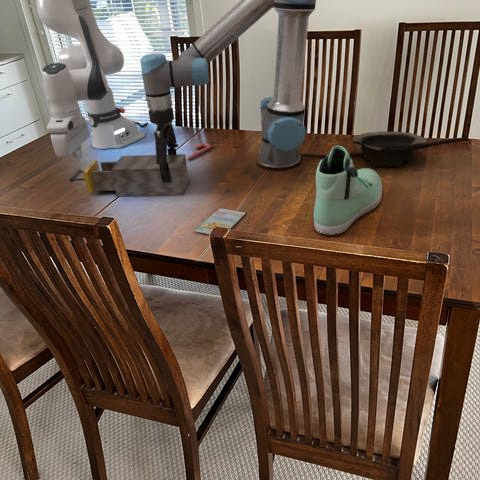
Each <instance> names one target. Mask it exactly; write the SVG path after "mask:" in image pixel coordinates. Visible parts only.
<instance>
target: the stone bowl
mask: <svg viewBox="0 0 480 480" xmlns="http://www.w3.org/2000/svg"><path fill="white" fill-rule="evenodd" d="M351 143H353V144H355V145H358V146H360V149H361V153H363V154H364V155H363V156H364V157H365V158H366V159H367V160H370V161H371V166H373V167H376V168H377V167H380V168H389V167H397V166H400V165H402V162H403V161H404V162H408V161H409V162H410V161H412V160H413V157H414V153H415V148H414V147H417V146H420V145H422V144H425V143H429V140H428V139H427V138H425V137H423V136H421V135H418V134H415V133H412V132H404V131H376V132H375V131H374V132H373V131H372V132H364V133H362V134H356V135H355V136H353V137H352V141H351Z"/></svg>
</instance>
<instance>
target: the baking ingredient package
mask: <svg viewBox="0 0 480 480" xmlns="http://www.w3.org/2000/svg"><path fill="white" fill-rule="evenodd" d="M245 214H246V212H245V211H239V210H233V209H227V208H220V207H219V208H218V209H217V210H215V211H214V212H213V214H212V215H210V216H209V217H208V218H207V219H206V220H205V221H204V222H203V223H202V224H201V225H200V226H198V227H197V228H196V229H195V230H194V232H197V233H200V234H201V233H202V234H206V235H211V234H210V232H211V230H212V229H213V228H214V227H226V228H230V229H232V228H233V226H235V224H237V223H238V222H239V221H240V219H242V217H244V216H245Z"/></svg>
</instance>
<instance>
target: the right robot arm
mask: <svg viewBox="0 0 480 480" xmlns="http://www.w3.org/2000/svg"><path fill="white" fill-rule="evenodd" d="M316 4H317V0H240V1H238V2H237V4H235V6H233V7H232V8H231V9H230V10H229V11H228V12H226V13H225V15H223V16H222V17H221V18H220V19H219V20H218V21H217V22H215V23H214V24H213V25H212V26H211V27H210V28H209V29H208V30H207V31H206V32H205V33H203V34H202V35H201V36H200V37H199V38H198V39H197V40H196V41H195V42H193V44H191V45H190V46H189V47H188V48H187V49H184V50H183V51H182V52H181V53H179V56H178V58H177V59H175V60H167V57H166V55H165V54H164V53H148V54H144V55H143V56H142V57H141V58H140V60H139V61H140V69H141V70H140V71H141V77H142V82H143V88H144V94H145V98H144V101H145V102H146V106H147V108H148V112H147V113H148V118H149V122H150V123H151V124H153V125H156V128H155V131H154V132H153V135H154V140H155V141H154V143H155V144H154V145H155V155H156V161H157V162H156V164H159V166H160V172H161V178H162V183H166V182H171V178H170V172H169V165H168V162H167V155H173V154H178V153H177V148H179V144H178V141H177V137H176V134H175V129H174V126H173V121H174V120H175V114H174V108H173V98H172V92H171V88H182V87H183V88H184V87H199V86H204V85H208V84H209V81H210V76H209V75H210V74H209V64H210V63H211V62H212V61H214V60H215V59H216V58H217V57H218V56H219V55H220V54H221V53H222V52H224V51H225V50H226V49H227V48H228V47H229V46H230V45H232V44H233V43H234V42H235V41H236V40H237V39H238V38H240V37H241V36H242V35H243V34H244V33H245V32H246V31H248V30H249V29H250V28H251V27H252V26H253V25H254V24H256V23H257V22H259V20H260V19H261V18H263V17H264V16H265V15H266V14H267V13H268V12H269V11H270V10H271V9H274V10H275V12H276V13H277V16H278V17H277V31H276V32H277V33H276V46H275V47H276V48H275V59H274V61H275V63H274V77H273V91H272V92H273V93H272V96H269V97H264V98H263V99H261V100H260V107H259V109H260V123H261V124H260V125H261V145H260V148H259V150H258V156H257V163H258V165H259V166H260V167H261V168H263V169H267V170H272V171H282V170H288V169H293V168H295V167H297V166H299V165H300V164H301V161H302V158H325V157H326V156H327V155H329V154H330V153H329V154H314V153H312V154H311V153H310V154H309V153H300V150H299V147H301V145H302V144H304V141H305V139H306V136H307V135H306V133H307V132H306V127H305V126H306V125H305V124H304V122H305V112H306V111H305V110H306V105H305V104H304V103H303V102H302V92H303V91H302V90H303V80H304V70H305V61H306V51H307V40H308V39H307V38H308V30H309V18H310V15H311V14H312V13H313V12H315V10H316ZM468 139H469V137H468V136H463V137H462V136H461V137H452V138H447V139H446V138H445V139H441V140H436V141H430V142H426V143H424V144H422V145H420V146H417V147H414V149H418V148H423V147H428V146H432V145H439V144H444V143H450V142H457V141H465V140H467V141H468ZM348 153H349V156H350V157H360V156H361V157H362V156H365V155H364V154H363V153H362V152H351V153H350V152H348Z"/></svg>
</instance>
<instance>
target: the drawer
mask: <svg viewBox="0 0 480 480" xmlns="http://www.w3.org/2000/svg"><path fill="white" fill-rule="evenodd" d="M116 163H117V161H101V162H100V163H99V161H98V160H96V159H95V160H93V161H92V162H90V164H89V165H88V167H87V168H86V169H85V170H82V169H80V168H78V169H77V170H76V171H75V172H74V173H73V174H72V175H71V177H69V178H68V181H69V182H70V183H74V182H79V181H81V182H82V181H84V182H85V185H86V189H87V193H88V194H93V192H94V191H95V190H96V191H97V192H104V191H105V192H106V191H109V192H110V191H116V190H115V185H114V181H113V176H112V172H111V169H112V168H113V167H114V165H115V164H116ZM99 165H100V166H99ZM100 168H101V169H100ZM81 174H83V177H79V176H80V175H81Z"/></svg>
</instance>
